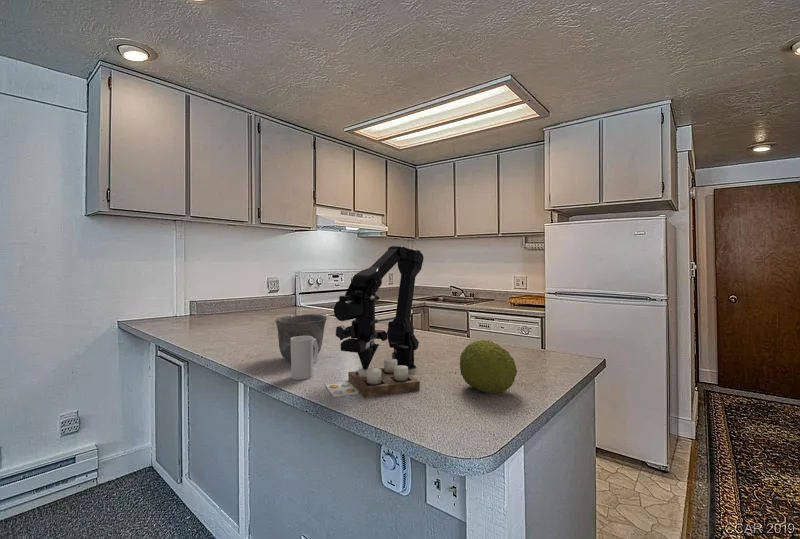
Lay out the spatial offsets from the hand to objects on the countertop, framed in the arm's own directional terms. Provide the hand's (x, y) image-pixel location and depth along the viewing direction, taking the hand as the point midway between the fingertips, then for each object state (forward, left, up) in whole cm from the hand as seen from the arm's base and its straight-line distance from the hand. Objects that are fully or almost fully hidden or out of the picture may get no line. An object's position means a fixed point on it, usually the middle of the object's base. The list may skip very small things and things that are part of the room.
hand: (365, 369), depth 115 cm
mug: (+15, -13, -4) cm, 20 cm away
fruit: (-29, +19, -4) cm, 35 cm away
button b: (-8, +8, -1) cm, 11 cm away
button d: (0, +8, -1) cm, 8 cm away
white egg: (0, 0, -3) cm, 3 cm away
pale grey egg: (-8, 0, -1) cm, 8 cm away
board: (-4, +4, -4) cm, 7 cm away
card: (+8, +4, -4) cm, 10 cm away
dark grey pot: (+13, -33, -4) cm, 35 cm away
